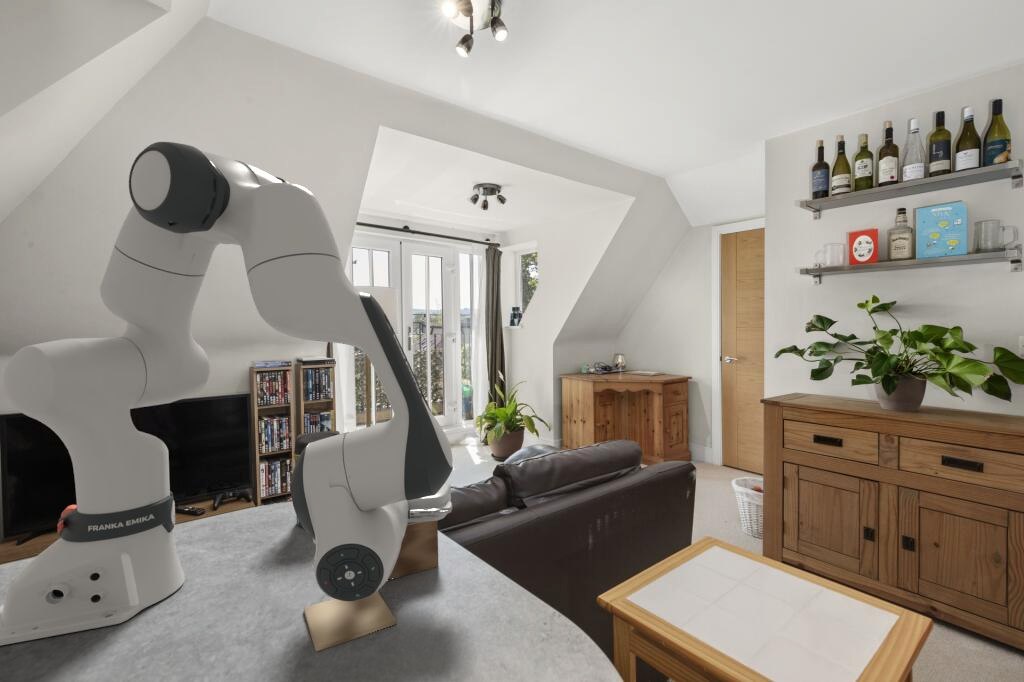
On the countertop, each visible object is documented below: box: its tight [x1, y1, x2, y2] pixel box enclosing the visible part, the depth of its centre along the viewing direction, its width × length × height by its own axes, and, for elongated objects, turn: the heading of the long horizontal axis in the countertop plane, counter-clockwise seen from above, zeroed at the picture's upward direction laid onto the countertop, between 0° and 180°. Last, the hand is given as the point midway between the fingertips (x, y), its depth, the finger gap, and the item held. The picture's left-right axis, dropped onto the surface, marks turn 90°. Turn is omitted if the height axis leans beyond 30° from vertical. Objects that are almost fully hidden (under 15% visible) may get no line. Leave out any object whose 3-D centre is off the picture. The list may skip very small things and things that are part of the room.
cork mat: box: [303, 590, 397, 652], centre depth 66 cm, size 10×10×1 cm
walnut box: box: [388, 520, 439, 580], centre depth 82 cm, size 12×10×9 cm
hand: (390, 485), depth 81 cm, fingers open, 8 cm apart
